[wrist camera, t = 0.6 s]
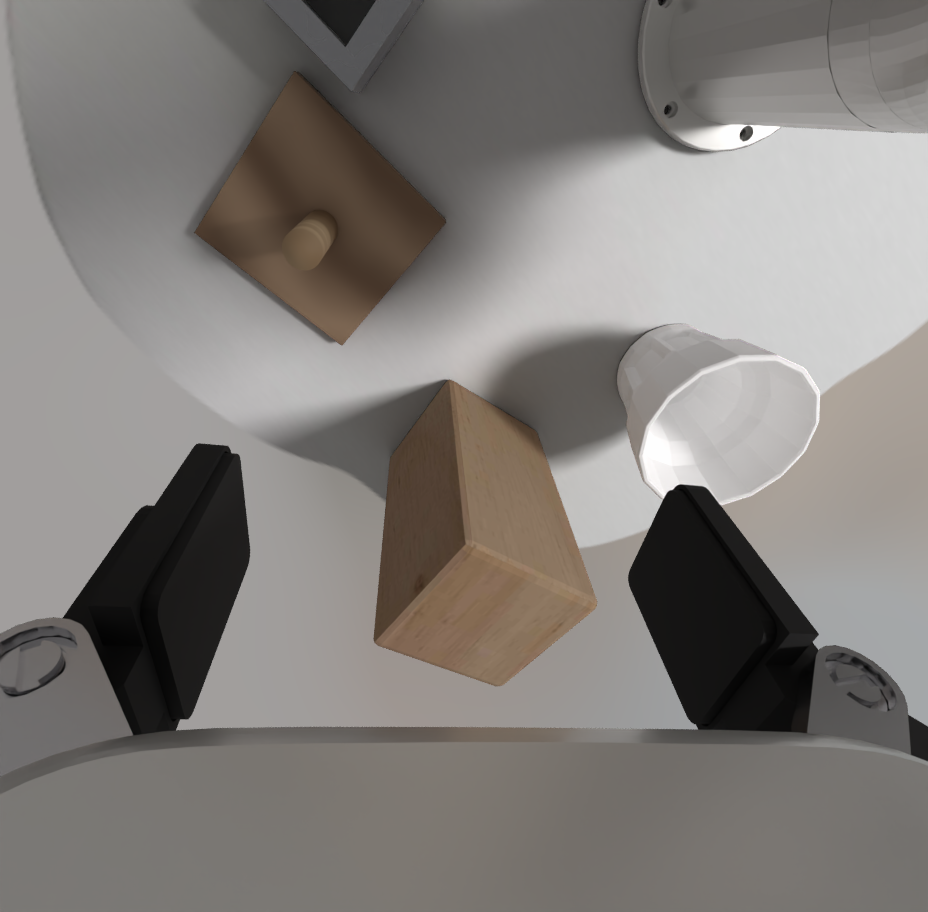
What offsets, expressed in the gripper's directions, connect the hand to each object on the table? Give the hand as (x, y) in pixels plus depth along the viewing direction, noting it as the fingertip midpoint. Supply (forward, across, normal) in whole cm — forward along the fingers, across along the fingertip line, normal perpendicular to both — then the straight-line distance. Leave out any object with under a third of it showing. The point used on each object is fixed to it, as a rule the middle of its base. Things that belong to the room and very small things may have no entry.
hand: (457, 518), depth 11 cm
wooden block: (+31, -5, +17) cm, 36 cm away
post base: (+31, +8, 0) cm, 31 cm away
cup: (+31, -21, +8) cm, 38 cm away
